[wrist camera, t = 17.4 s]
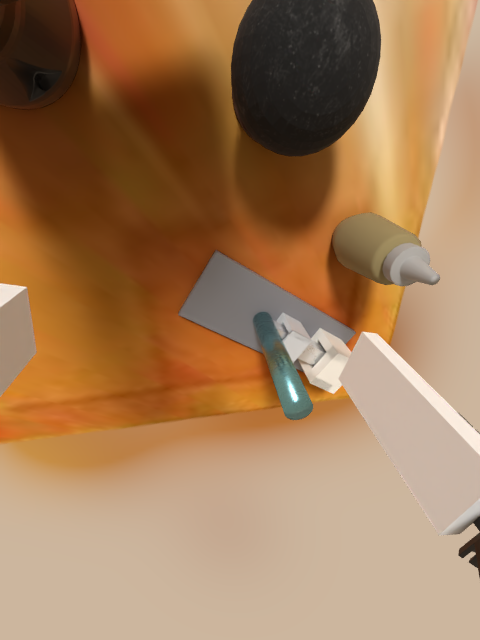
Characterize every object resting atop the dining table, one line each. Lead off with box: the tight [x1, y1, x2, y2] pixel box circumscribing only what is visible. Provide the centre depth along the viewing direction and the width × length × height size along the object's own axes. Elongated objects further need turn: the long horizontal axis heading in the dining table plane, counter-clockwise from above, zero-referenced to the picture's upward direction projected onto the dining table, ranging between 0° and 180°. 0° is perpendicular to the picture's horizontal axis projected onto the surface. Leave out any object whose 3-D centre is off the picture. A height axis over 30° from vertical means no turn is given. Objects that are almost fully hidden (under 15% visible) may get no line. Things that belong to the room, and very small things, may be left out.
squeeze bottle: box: [332, 213, 440, 286], centre depth 36 cm, size 8×8×18 cm
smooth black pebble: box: [231, 0, 381, 156], centre depth 27 cm, size 13×13×15 cm
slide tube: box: [253, 312, 327, 420], centre depth 41 cm, size 16×3×20 cm, turn 57°
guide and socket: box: [178, 250, 356, 394], centre depth 46 cm, size 30×12×8 cm, turn 57°
